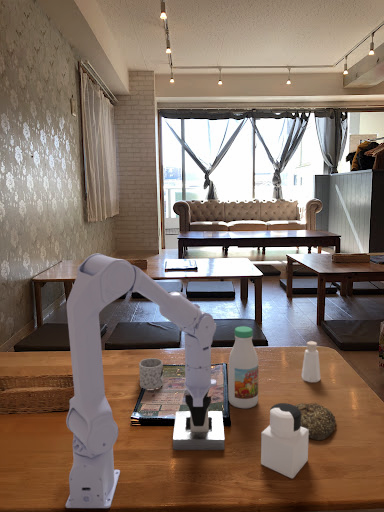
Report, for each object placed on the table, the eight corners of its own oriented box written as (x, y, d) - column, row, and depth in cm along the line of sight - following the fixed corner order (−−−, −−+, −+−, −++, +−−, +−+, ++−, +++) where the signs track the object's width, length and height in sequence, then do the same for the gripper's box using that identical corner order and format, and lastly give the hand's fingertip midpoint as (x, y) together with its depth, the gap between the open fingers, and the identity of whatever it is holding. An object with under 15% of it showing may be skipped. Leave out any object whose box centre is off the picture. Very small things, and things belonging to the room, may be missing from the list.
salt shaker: (324, 380, 118) (325, 344, 116) (309, 384, 116) (310, 347, 114) (312, 372, 123) (313, 338, 121) (297, 376, 121) (298, 340, 119)
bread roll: (320, 447, 89) (321, 426, 88) (271, 425, 97) (272, 405, 96) (345, 422, 98) (346, 403, 97) (299, 404, 106) (299, 386, 105)
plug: (208, 432, 91) (208, 406, 90) (190, 432, 91) (190, 406, 90) (208, 421, 95) (208, 397, 94) (191, 421, 95) (190, 397, 94)
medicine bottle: (276, 447, 88) (277, 395, 86) (308, 460, 84) (310, 406, 82) (260, 464, 83) (260, 410, 81) (292, 480, 78) (294, 422, 76)
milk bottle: (223, 405, 106) (223, 331, 102) (234, 391, 112) (235, 322, 109) (252, 412, 102) (252, 336, 99) (262, 398, 109) (263, 326, 105)
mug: (166, 387, 116) (166, 365, 115) (144, 392, 113) (143, 370, 112) (154, 373, 125) (153, 352, 123) (133, 377, 122) (132, 356, 121)
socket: (224, 449, 88) (224, 439, 87) (173, 449, 88) (172, 439, 88) (221, 420, 98) (221, 411, 98) (176, 421, 99) (176, 411, 98)
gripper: (217, 378, 83) (217, 438, 85) (215, 349, 97) (215, 402, 100) (182, 378, 83) (183, 438, 86) (185, 350, 98) (186, 402, 100)
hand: (198, 419), depth 93 cm, fingers closed on plug, 4 cm apart
